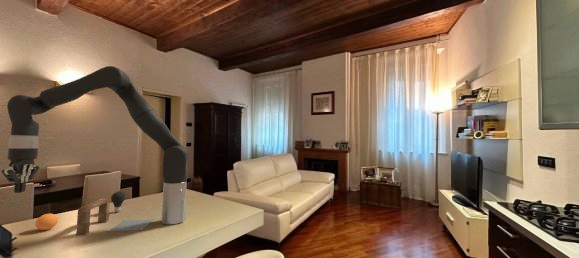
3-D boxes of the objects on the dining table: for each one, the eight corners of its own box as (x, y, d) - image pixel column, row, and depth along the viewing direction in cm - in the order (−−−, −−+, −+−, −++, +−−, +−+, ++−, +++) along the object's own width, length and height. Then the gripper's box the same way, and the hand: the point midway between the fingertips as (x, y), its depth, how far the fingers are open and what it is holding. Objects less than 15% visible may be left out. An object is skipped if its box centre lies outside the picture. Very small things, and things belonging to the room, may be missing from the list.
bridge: (108, 220, 99) (110, 198, 100) (85, 234, 85) (87, 208, 85) (100, 221, 99) (102, 198, 99) (76, 235, 84) (78, 208, 84)
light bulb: (116, 214, 108) (118, 193, 108) (107, 213, 109) (108, 192, 109) (127, 210, 113) (128, 190, 114) (118, 210, 114) (119, 189, 115)
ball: (61, 226, 92) (62, 211, 92) (49, 232, 86) (50, 216, 86) (43, 227, 91) (44, 211, 91) (29, 233, 85) (31, 216, 85)
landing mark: (153, 219, 102) (153, 219, 102) (142, 230, 90) (142, 229, 90) (123, 221, 99) (123, 220, 99) (107, 231, 87) (107, 231, 87)
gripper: (19, 147, 82) (14, 196, 81) (49, 146, 95) (45, 188, 94) (-7, 147, 81) (-12, 196, 80) (27, 146, 94) (23, 188, 93)
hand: (19, 192), depth 87 cm, fingers closed
